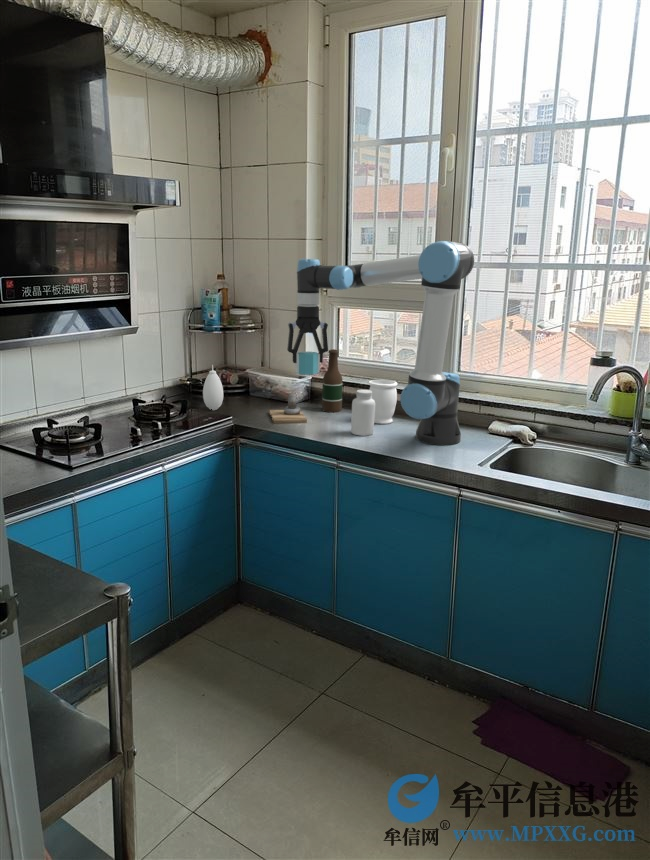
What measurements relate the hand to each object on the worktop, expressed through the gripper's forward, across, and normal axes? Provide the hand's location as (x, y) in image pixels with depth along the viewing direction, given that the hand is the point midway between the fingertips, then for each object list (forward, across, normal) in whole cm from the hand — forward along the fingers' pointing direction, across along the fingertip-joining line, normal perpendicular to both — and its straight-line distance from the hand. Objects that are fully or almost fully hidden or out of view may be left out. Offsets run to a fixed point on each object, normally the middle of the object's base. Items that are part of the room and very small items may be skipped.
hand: (307, 371), depth 233 cm
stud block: (+20, +5, -13) cm, 24 cm away
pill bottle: (+20, -18, +11) cm, 29 cm away
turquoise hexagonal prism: (0, 0, 0) cm, 0 cm away
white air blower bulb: (+20, +32, -28) cm, 47 cm away
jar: (+20, -29, -4) cm, 35 cm away
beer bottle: (+20, -14, -23) cm, 34 cm away
